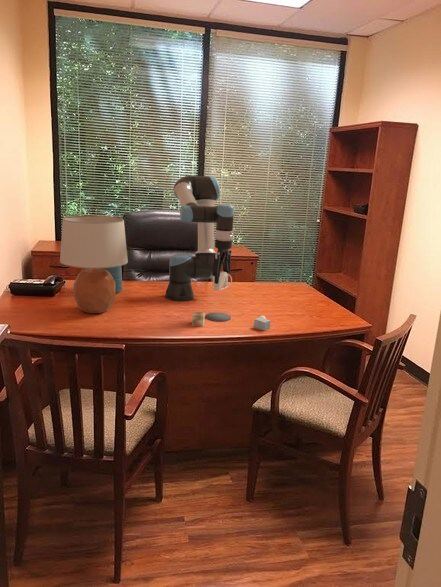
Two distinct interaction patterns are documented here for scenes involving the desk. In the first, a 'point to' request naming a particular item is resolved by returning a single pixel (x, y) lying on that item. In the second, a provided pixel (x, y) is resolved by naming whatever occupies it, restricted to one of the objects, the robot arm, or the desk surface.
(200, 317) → the birch block
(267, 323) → the greyblue block
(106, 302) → the lamp
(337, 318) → the desk surface
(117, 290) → the vase
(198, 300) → the desk surface
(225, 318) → the coaster
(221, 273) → the cup
